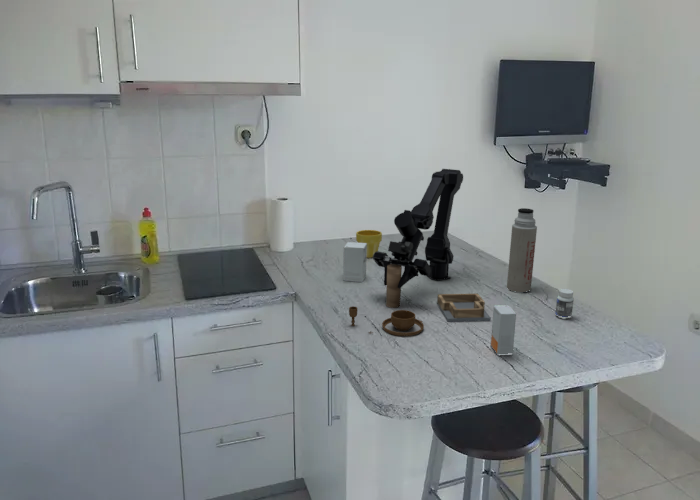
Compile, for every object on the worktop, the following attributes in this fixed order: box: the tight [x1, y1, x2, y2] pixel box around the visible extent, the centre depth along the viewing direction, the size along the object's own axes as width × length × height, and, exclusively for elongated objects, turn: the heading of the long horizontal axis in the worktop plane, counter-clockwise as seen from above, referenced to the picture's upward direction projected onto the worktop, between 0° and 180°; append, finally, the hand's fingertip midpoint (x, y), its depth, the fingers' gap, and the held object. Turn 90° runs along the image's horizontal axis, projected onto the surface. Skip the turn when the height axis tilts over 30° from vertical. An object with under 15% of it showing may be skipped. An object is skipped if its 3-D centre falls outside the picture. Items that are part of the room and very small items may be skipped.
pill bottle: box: [554, 288, 575, 317], centre depth 176 cm, size 5×5×8 cm
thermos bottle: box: [506, 207, 538, 293], centre depth 197 cm, size 8×8×28 cm
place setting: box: [348, 306, 425, 337], centre depth 169 cm, size 18×20×6 cm
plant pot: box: [355, 229, 383, 259], centre depth 236 cm, size 10×10×10 cm
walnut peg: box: [385, 264, 403, 309], centre depth 183 cm, size 4×4×13 cm
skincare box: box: [490, 304, 517, 354], centre depth 152 cm, size 6×4×12 cm
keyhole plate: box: [436, 292, 492, 323], centre depth 179 cm, size 14×13×4 cm
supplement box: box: [342, 241, 368, 283], centre depth 208 cm, size 7×7×13 cm
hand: (391, 286), depth 182 cm, fingers closed on walnut peg, 4 cm apart
